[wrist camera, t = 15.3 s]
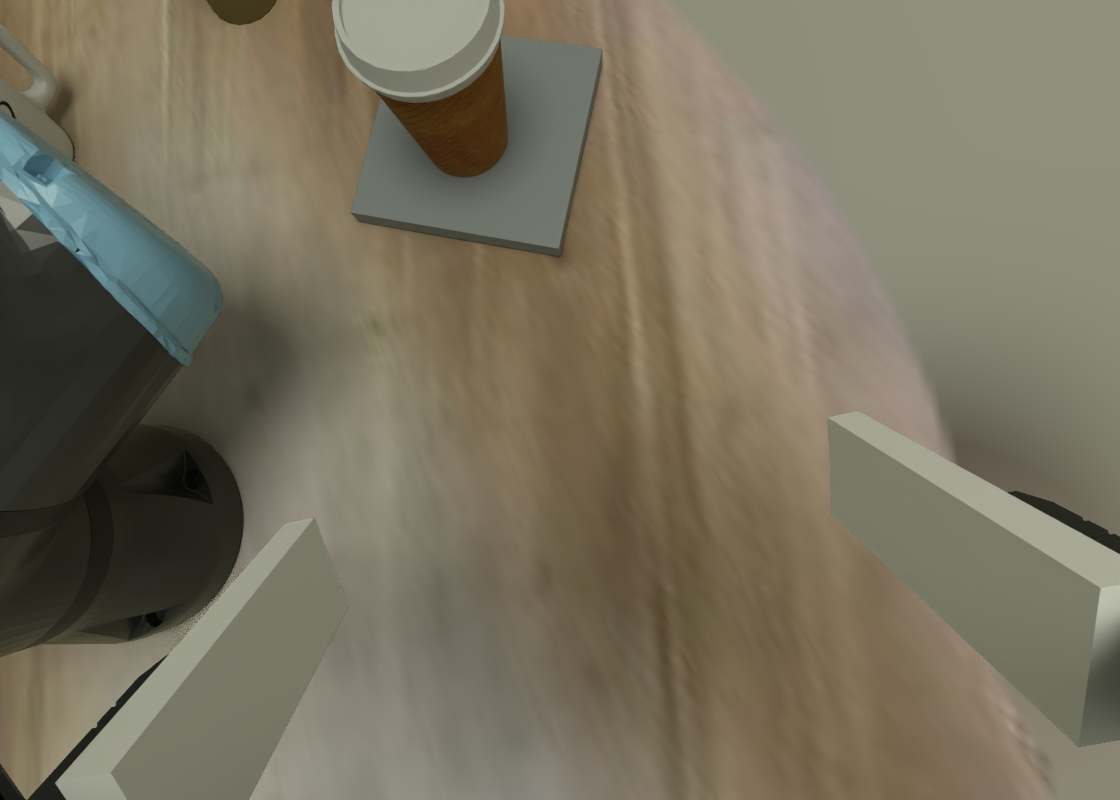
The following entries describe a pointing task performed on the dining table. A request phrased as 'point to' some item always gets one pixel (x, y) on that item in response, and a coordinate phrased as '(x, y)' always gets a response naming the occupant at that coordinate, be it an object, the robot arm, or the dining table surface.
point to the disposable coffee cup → (433, 73)
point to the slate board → (515, 180)
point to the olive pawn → (241, 10)
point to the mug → (32, 96)
